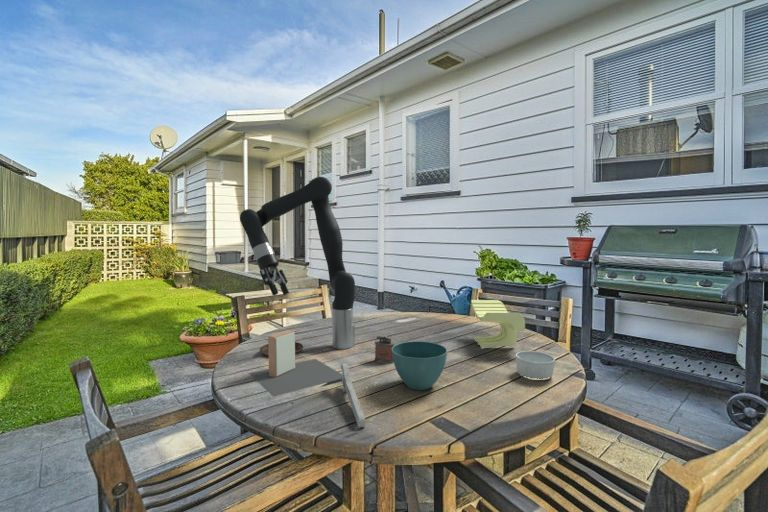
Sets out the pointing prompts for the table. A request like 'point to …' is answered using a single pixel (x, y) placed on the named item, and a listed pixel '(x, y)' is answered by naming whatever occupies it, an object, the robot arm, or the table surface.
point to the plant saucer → (265, 350)
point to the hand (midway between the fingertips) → (281, 294)
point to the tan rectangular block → (281, 352)
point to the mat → (298, 377)
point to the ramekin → (535, 364)
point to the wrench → (352, 396)
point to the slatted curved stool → (498, 314)
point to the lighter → (384, 349)
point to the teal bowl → (419, 363)
